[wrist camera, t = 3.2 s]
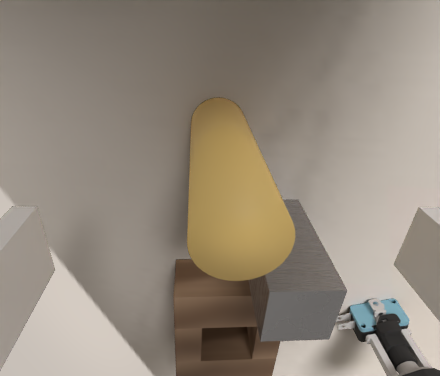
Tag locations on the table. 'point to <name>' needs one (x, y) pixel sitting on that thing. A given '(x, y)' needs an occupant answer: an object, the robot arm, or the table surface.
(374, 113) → the table surface
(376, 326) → the push button
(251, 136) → the dowel bit
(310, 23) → the table surface
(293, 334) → the square bar bit
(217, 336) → the socket block
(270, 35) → the table surface
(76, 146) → the table surface
